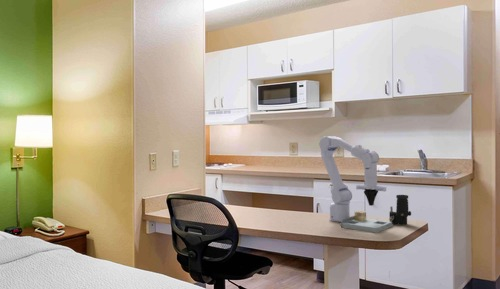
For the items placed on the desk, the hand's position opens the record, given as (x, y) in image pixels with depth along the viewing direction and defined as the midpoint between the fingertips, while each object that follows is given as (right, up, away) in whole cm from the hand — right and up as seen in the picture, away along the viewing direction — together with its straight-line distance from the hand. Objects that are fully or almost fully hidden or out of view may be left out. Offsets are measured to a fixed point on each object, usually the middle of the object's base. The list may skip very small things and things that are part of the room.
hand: (371, 205), depth 197 cm
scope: (+15, -10, +3) cm, 18 cm away
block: (-4, -8, +5) cm, 10 cm away
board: (-3, -10, -1) cm, 10 cm away
